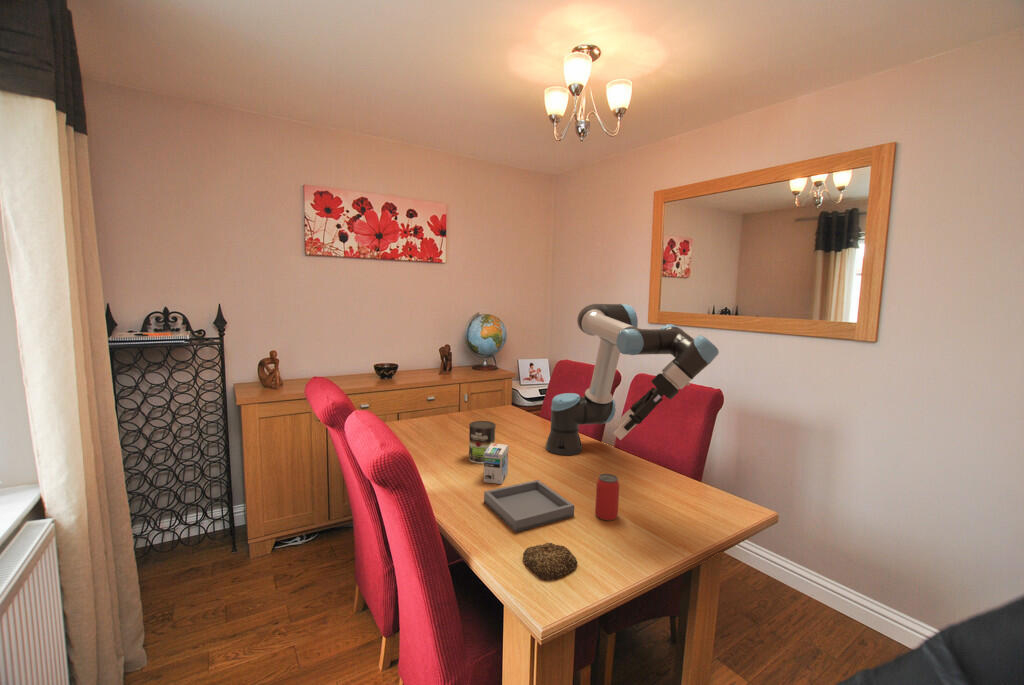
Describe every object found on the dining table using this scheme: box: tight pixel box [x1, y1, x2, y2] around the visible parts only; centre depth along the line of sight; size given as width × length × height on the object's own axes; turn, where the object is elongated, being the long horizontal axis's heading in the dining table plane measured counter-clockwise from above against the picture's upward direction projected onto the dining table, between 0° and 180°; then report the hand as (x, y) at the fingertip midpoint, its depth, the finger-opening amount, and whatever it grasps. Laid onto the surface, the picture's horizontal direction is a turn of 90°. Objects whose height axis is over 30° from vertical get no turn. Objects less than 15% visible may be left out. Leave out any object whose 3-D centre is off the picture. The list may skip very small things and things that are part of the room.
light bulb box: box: [483, 442, 509, 485], centre depth 158 cm, size 11×7×11 cm, turn 168°
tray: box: [483, 479, 575, 534], centre depth 136 cm, size 20×20×4 cm
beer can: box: [594, 473, 620, 521], centre depth 133 cm, size 7×7×12 cm
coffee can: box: [468, 420, 496, 465], centre depth 175 cm, size 10×10×14 cm
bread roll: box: [522, 542, 578, 581], centre depth 110 cm, size 13×12×5 cm
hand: (617, 431), depth 132 cm, fingers open, 13 cm apart
